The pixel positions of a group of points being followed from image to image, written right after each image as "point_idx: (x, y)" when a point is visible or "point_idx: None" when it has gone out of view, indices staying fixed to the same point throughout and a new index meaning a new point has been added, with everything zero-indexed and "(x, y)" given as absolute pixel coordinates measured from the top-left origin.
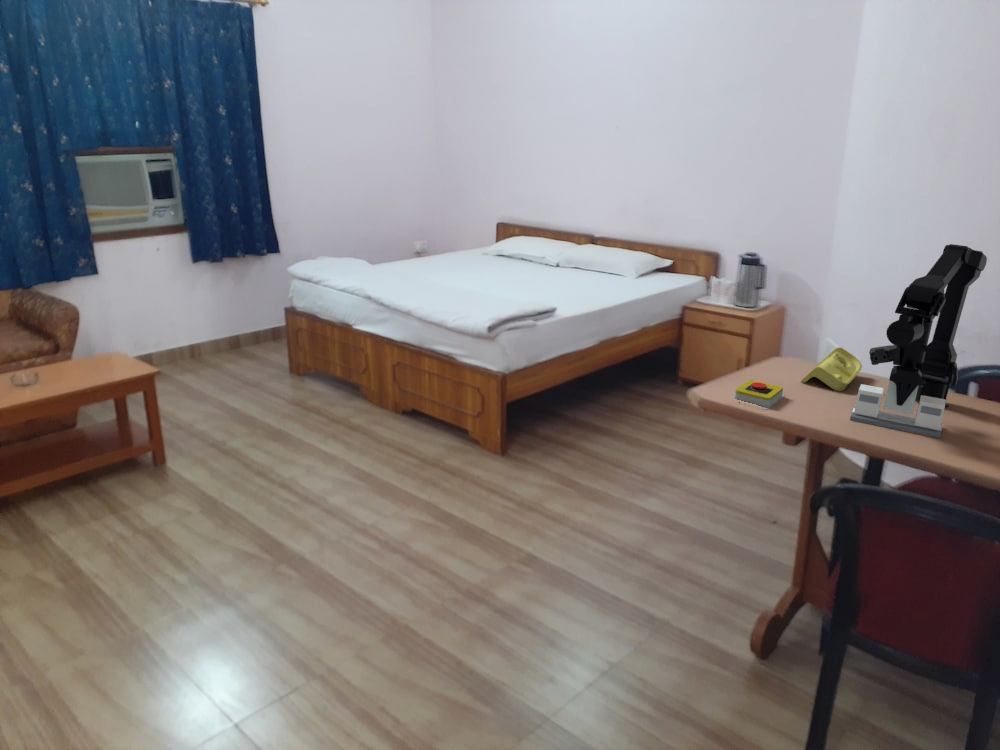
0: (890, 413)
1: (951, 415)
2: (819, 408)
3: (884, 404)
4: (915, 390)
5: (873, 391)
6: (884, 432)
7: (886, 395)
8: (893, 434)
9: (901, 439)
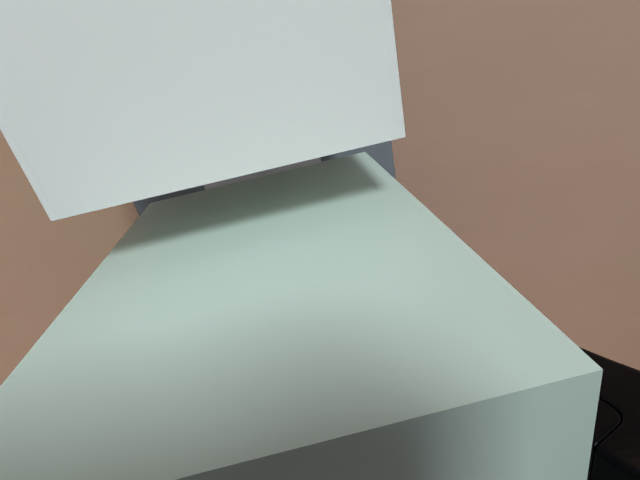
0: (391, 173)
1: (637, 368)
2: None
3: (138, 219)
4: None
5: (32, 60)
6: (41, 237)
7: (96, 274)
8: (66, 285)
9: (29, 339)
